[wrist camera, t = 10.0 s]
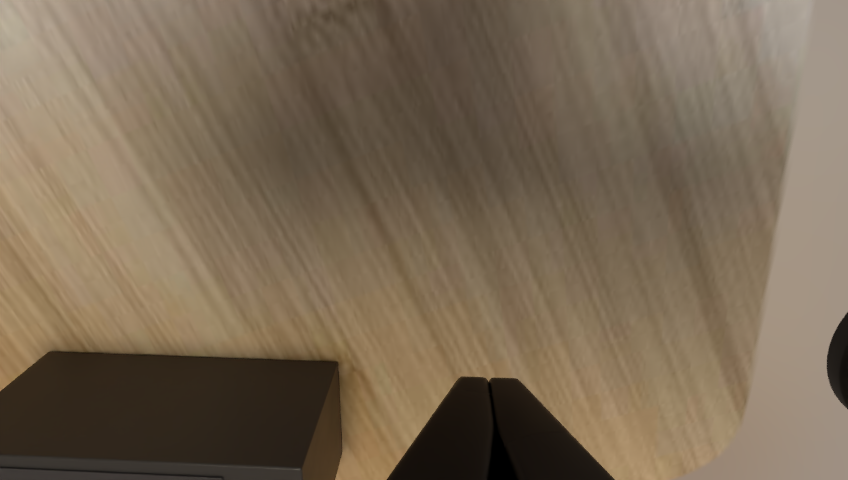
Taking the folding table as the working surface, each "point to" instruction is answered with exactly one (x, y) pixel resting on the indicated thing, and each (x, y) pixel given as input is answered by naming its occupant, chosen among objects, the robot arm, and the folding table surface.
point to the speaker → (170, 419)
